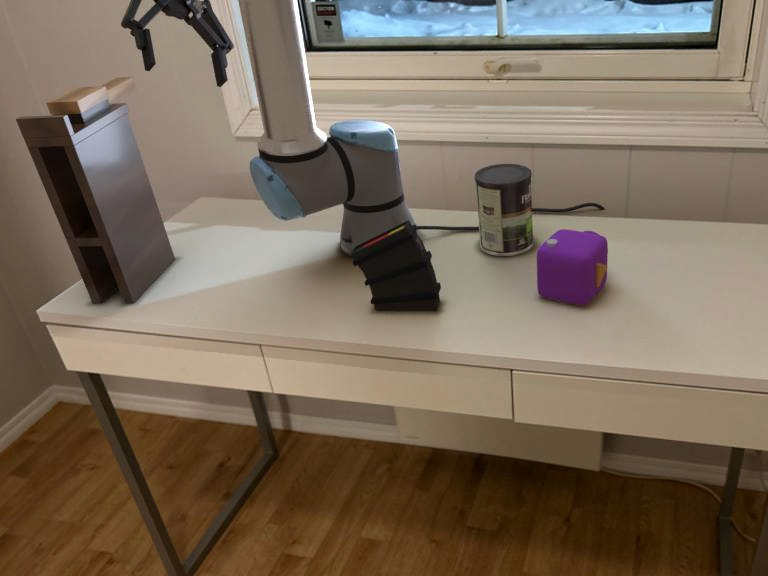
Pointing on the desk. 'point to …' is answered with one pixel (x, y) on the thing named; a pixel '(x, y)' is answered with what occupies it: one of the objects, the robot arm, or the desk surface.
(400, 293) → the magazine
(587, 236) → the toy camera
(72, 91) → the tan block
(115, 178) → the shelf
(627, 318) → the desk surface
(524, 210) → the coffee can
